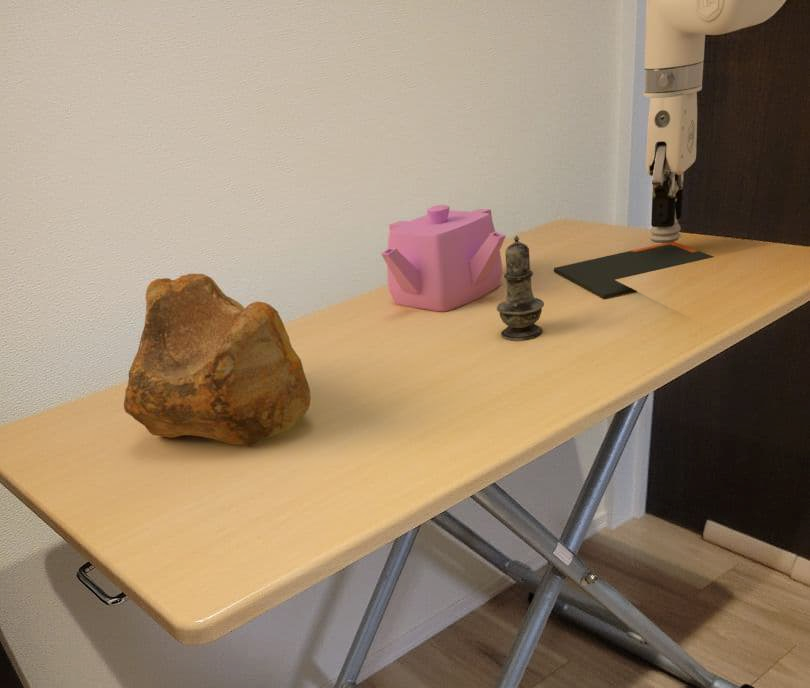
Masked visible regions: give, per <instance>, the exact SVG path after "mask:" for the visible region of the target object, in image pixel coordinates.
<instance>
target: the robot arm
mask: <svg viewBox="0 0 810 688" xmlns="http://www.w3.org/2000/svg"><path fill="white" fill-rule="evenodd" d="M645 1H646V2H645V3H646V5H645V32H644V33H645V34H644V35H645V37H644V69H643V70H644V73H643V97H644V98H649V106H648V107H649V108H648V118H647V130H646V131H647V133H646V152H645V156H646V157H645V168H646V174H647V175H648V176H650V177H652V179H651V185H652V193H651V223H650V225H651V228H652V227H672V226H673V225H674V223H675V211H676V219H677V220H680V219H681V218H682V216H683V199H684V189H683V187H684V172H686V171H687V170H689V168H690V167H691V166H692V165H693V164H694V163H695V162H696V159H697V145H698V144H697V142H698V141H697V136H698V92H701V91H702V90H703V75H704V60H705V46H706V45H705V43H706V36H719V35H725V34H729V33H732V32H736V31H738V30H741V29H746V28H750V27H753V26H756V25H759V24H762V23H764V22H766V21H767V20H769V19H771V18H772V17H773V16H774V15H775V14H776V13H777V12H778V11H779V10H780V9H781V8H782V7H783V5H784V4H785V3H786V1H787V0H645ZM675 181H677V186H678V187H679V190H678V191H677V193H676V195H675V197H673V195H674V184H675ZM676 199H677V201H676Z"/></svg>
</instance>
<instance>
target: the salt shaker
mask: <svg viewBox="0 0 810 688" xmlns="http://www.w3.org/2000/svg"><path fill="white" fill-rule="evenodd" d="M519 240H520V238H519V236H518V235H515V236H514V238H513V241H514V242H512V243H511V244H510V245H509V246H507V247H506V248H505V252H504V253H505V269H506V270H505V271H506V273H505V274H503V278H504V279H505V281H506V298H505V300H504V301H501V302H500V303H498V305H497V306H496V311H497V312H499V313H498V314H499V317H500V319H501V321H502V323H503V324H505V325H506V327H505V328H504V329H503V330H501V332H500V336H501V338H502V339H504V340H508V341H512V342H513V341H514V342H519V341H520V342H521V341H522V342H523V341H528V340H533V339H535V338H538V337H539V336H541V335H542V334H543V333H544V330H543V328H542V327H541V326H539V325H537V322H538V321H539V320H540V318H541V315H542V312H543V310H542V309H543V307H544V306H545V302H544V301H543V300H542V299H541V298H537V297H535V296H534V293H533V288H532V277H533V276H534V272H533V271H532V270H531V260H530V248H529V246H528V245H527V244H525V243H523V242H521V241H519Z"/></svg>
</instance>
